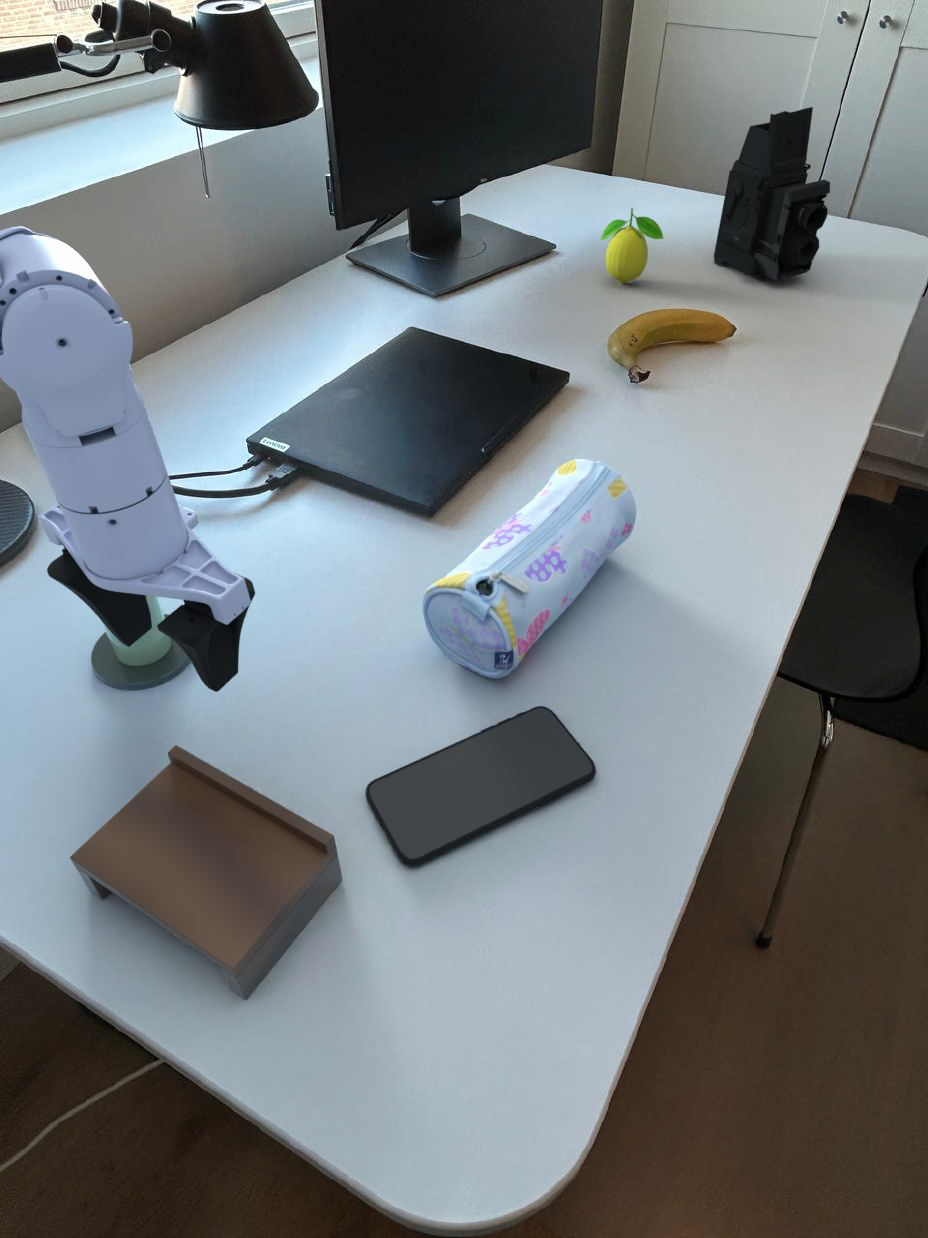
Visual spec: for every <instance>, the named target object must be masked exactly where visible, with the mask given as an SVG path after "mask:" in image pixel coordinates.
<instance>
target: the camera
mask: <svg viewBox="0 0 928 1238" xmlns="http://www.w3.org/2000/svg"><path fill="white" fill-rule="evenodd" d="M813 109H814V106H811V107H805V108H802V109H799V110H795V111H787V110H784V111H780V112H778V113H775V114H773V113H770V115H769V122H764V123H759V124H754V125H750V126H749V128H748V131H747V134H746V136H745V140H744V142H743V145H742V147H741V151H740V154H739V158H738V159H735V160H734V162H733V165H732V167H731V170H729V172H728V177H727V178H728V179H727V182H726V183H727V184H726V189H725V194H724V198H723V204H722V209H721V215H720V220H719V226H718V230H717V237H716V242H715V247H714V252H713V261H714V265H715V264H716V265H717V266H721V265H725V266H728V267H730V268H732V269H734V270H736V271H738V272H740V273H743V274H744V275H745V276H749V277H751V278H753V279H755V280H757V281H759V282H761V281H765V280H768V279H771V280H773V281H777V280H781V281H783V280H787V279H790V278H792V277H796V276H800V275H803V274H806V273H808V271H809V272H810V271H811V268H812V264H813V261H814V259H815V257H816V255H817V253H818V251H819V249H820V238H819V237H818V236H817V234H818V231H819V230H820V229H821V228H823V226H824V225H825V222H826V220H827V218H828V212H829V211H828V210H829V209H828V207H827V206H826V205H825V200H824V199H825V198H827V197H828V194H830V193H831V182H830V181H829V180H826V179H820V180H817V181H816V180H815V181H812V182H807V179H808V175H809V173H808V170H811V165H812V164H809V163H807V159H808V149H809V142H810V141H809V140H810V134H811V126H812V120H813V119H812V117H813Z"/></svg>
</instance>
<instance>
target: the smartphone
mask: <svg viewBox="0 0 928 1238" xmlns="http://www.w3.org/2000/svg"><path fill="white" fill-rule="evenodd" d="M596 774H597V767H596V764H595V762H594V760H593V758H591V756H590V755H589V754H588V753H587V751H586V750H585V749H584V748H583V747H582V745H581V744H580V743H579V742H578V740H577V739H576V738H575V737H574V735H573V733H571V732H570V730H569V729H568V728H567V727H566V725H565V724H564V723H563V722H562V720H561V719H560V718H559V717H558V716H557V714H556V713H555V712H554V711H553V710H552V709H551V708H548V707H547V706H544V705H537V706H534V707H532V708H530V709H527V710H525V711H521V712H519V713H517V714H515V715H514V716H512V717H508V718H505V719H504V720H501V721H498V722H497V723H496V724H492V725H490V726H487V727H486V728H484V729H481V730H480V731H478V732H477V733H474V734H472V735H470V736H467V737H466V738H462V739H461V740H459V741H456V742H454V743H452V744H450V745H447V746H445V747H443V748H441V749H439V750H437V751H435V752H432V753H430V754H428V755H426V756H423V757H421V758H419V759H417V760H415V761H412V762H410V763H408V764H406V765H403V766H401V767H399V768H397V769H394V770H393V771H390V772H388V773H385V774H383V775H381V776H379V777H377V778H375V779H373V780H371V781H370V782H369V783H368V784H367V786H366V787H365V798H366V801H367V803H368V805H369V807H370V809H371V810H372V812H373V814H374V816H375V818H376V819H377V821H378V823H379V825H380V827H381V829H382V831H383V833H384V835H385V836H386V838H387V839H388V841H389V844H390V845H391V847H392V849H393V851H394V852H395V854H396V856H397V858H398V859H399V860H400V861H401V862H402V863H403V864H404V865H406V866H407V867H410V868H413V867H414V868H415V867H419V866H422V865H424V864H426V863H428V862H430V861H432V860H434V859H436V858H438V857H440V856H443V855H444V854H446V853H448V852H451V851H452V850H455V849H456V848H458V847H461V846H463V845H464V844H466V843H468V842H471V841H472V840H475V839H477V838H479V837H481V836H483V835H485V834H487V833H489V832H491V831H492V830H495V829H497V828H499V827H501V826H503V825H505V824H507V823H509V822H511V821H513V820H516V819H517V818H520V817H521V816H523V815H525V814H527V813H530V812H531V811H533V810H535V809H537V808H542V807H544V806H546V805H548V804H549V803H552V802H554V801H556V800H557V799H560V798H561V797H562V796H564V795H566V794H568V793H569V792H571V791H574V790H576V789H578V788H580V787H582V786H584V785H586V784H588V783H590V782H592V781H593V780H594V778H595V777H596Z"/></svg>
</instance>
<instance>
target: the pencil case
mask: <svg viewBox="0 0 928 1238" xmlns="http://www.w3.org/2000/svg"><path fill="white" fill-rule="evenodd" d="M636 518H637V504H636V500H635V497H634V495H633V492H632V491H631V489H630V487H629V486H628V484H626V482H625V481H624V480H623V479H622V478H621V474H620V473H619V472H618V471H617V470H615V469H613V468H612V467H610V466H609V465H607V464H605V463H604V462H602V461H600V460H598V461H593V460H592V459H591V460H590V459H587V458H576V459H572V460H569V461H567V462H565V463H563V464H562V465H560V466H559V467H558V468H557V469H556V470H555V471H554V472H553V474H552V475H551V476H550V478H549V479H548V482H547V484H545V486H544V487H543V488H542V489H541V491H539V492H538V493H537V494H536V495H535V497H534V498H533V499H532V500H531V501H530V502H527V504H526V505H524V507H522V508H521V509H519V510H518V511H517V512H516V513H515V514H513V515H512V516H511V517H509V518H508V519H507V520H505V521H504V522H503V523H502V524H501V525H499V526H498V527H497V528H496V529H494V531H492V532H491V534H489V535H488V536H487V537H486V538H485V539H484V540H483V541H482V542H481V543H480V544H479V545H478V546H477V548H476V549H474V551H473V552H471V553H470V554H469V555H468V556H467V557H466V558H465V559H463V561H461V563H459V564H458V565H457V566H456V567H454V568H453V569H452V570H451V571H450V572H448V573H447V574H446V575H444V577H443V578H441V579H438V580H436V581H434V582H433V583H431V585H429V586H428V587H427V588H426V590H425V591H424V594H423V597H422V613H423V620H424V623H425V627H426V630H427V633H428V635H429V637H430V638H431V640H432V641H433V643H434V644H435V645H436V647H437V648H438V649H439V650H440V651H441V652H442V653H443V654H444V656H446V657H448V659H450V660H452V661H454V662H455V663H457V664H459V665H460V666H462V667H464V668H466V669H468V670H470V671H472V672H473V673H475V674H478V675H479V676H482V677H486V678H489V679H501V678H504V677H506V676H508V675H509V674H511V672H512V671H513V670H514V669H516V668H517V667H518V666H519V664H520V663H521V662H522V661H523V659H524V657H525V655H526V654H527V652H528V651H529V650H530V649H531V648H532V647H533V645H535V643H536V642H537V641H538V640H539V639H540V637H541V636H542V635H543V634H544V633H545V632H546V631H547V630H548V629H549V628H550V627H551V626H552V625H553V624H554V622H556V621H557V620H558V619H559V617H561V615H563V613H564V612H565V611H566V610H567V609H568V607H569V606H571V604H572V603H574V601H575V599H576V598H577V597H578V596H579V595H580V594H581V593H582V591H583V590H584V589H585V588H586V586H587V585H588V584H589V582H590V581H591V580H592V578H593V577H594V576H595V574H596V573H597V571H598V570H599V568H601V566H602V565H604V563H605V561H606V559H607V558H608V557H609V556H610V555H611V554H613V552H614V551H615V550H617V549H618V548H619V547H620V546H621V545H622V544H623V543H624V542H626V541H627V540H628V539H629V537H631V534H632V533H633V530H634V528H635V524H636Z"/></svg>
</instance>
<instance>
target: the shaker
mask: <svg viewBox="0 0 928 1238" xmlns="http://www.w3.org/2000/svg"><path fill="white" fill-rule="evenodd" d="M145 596H146V599H147V603H148V606H149V610H150V614H151V621H152V628H151V629H150V630H149V631H148V632H147V633H145V634H144V635H143V636H142V637H141V638H139V639H138V640H137V641H136V642H135V643H133V644H132V645H131V646H130V647H128V646H126V645H124V644H122V643H121V642H120V641H119V640H118V639H117V638H116V637H115V636H114V635H113V634H112V633H111V631H110V630H109V629H108V628H107V627H106V626H105V624H104V623H103V622H102V621H101V623H102V626H103V629H104V632H106V633H107V636H108V638H109V641H110V643H111V646H112V648H113V651H114V653H115V656H116V658H117V659H118V660H119V661H120V662H122V663H123V664H126V665H129V666H143V665H148V664H151V663H153V662H156V661H157V660H159V659H161V658H162V657H163V656H164V655H166V653H167V652H168V651H169V649H170V647H171V644H172V639H171V638H170V637H168V636H167V635H165V634H164V633H162V632H160V631H159V630H158V627H157V625H158V624H159V623H160V622H162V621H163V620H164V619H165V617H164V614H165V613H164V611H163V607H162V605H161V602H160V599H159V597H157V596H148V595H145ZM163 613H164V614H163Z"/></svg>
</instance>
